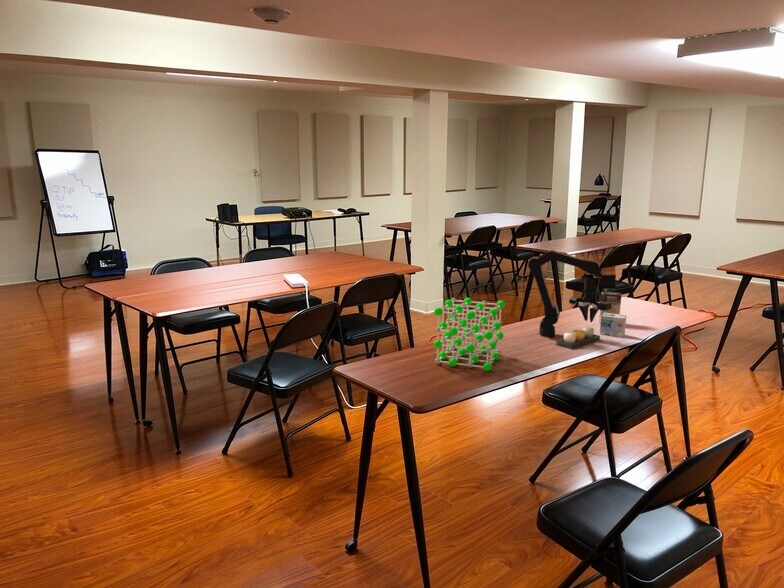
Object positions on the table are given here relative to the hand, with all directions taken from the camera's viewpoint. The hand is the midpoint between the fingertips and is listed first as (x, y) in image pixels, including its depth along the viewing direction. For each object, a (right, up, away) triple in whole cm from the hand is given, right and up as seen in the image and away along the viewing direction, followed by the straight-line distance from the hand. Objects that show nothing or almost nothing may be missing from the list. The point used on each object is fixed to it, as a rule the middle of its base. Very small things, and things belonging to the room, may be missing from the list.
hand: (588, 321), depth 274 cm
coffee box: (+21, -3, +33) cm, 40 cm away
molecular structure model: (-57, -15, -21) cm, 63 cm away
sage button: (0, -7, +2) cm, 7 cm away
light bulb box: (+14, -8, +10) cm, 20 cm away
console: (-6, -11, -2) cm, 12 cm away
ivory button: (-11, -9, -7) cm, 16 cm away
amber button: (-6, -8, -3) cm, 10 cm away
